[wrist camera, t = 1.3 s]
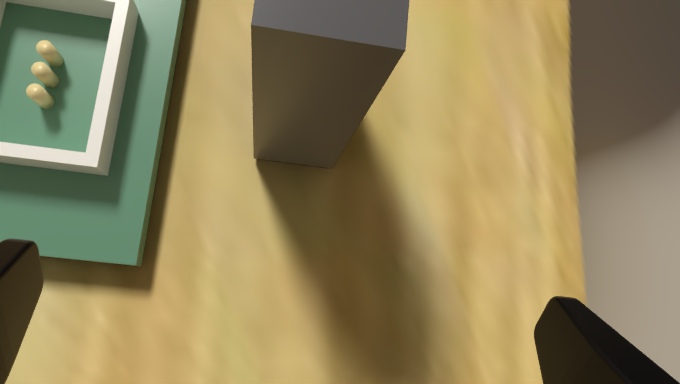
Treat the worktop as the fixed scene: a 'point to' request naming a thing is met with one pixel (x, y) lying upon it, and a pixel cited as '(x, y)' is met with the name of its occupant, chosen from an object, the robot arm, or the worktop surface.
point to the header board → (84, 122)
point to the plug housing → (319, 73)
